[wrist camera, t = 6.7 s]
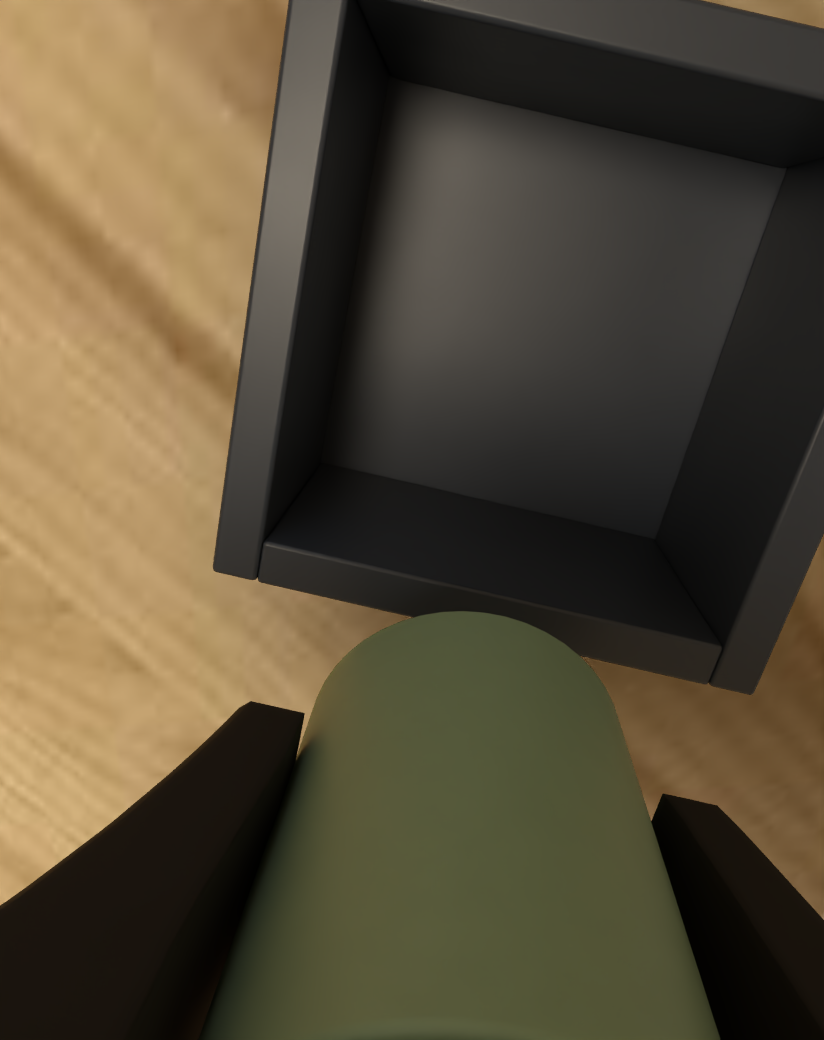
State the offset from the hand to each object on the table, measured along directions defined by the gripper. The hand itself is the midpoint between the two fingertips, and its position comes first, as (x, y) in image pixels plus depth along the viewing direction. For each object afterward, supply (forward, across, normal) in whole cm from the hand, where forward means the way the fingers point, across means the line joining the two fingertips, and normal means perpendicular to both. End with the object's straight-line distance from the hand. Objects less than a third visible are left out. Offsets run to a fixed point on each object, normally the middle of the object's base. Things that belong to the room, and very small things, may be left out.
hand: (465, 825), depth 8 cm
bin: (+8, 0, -5) cm, 10 cm away
